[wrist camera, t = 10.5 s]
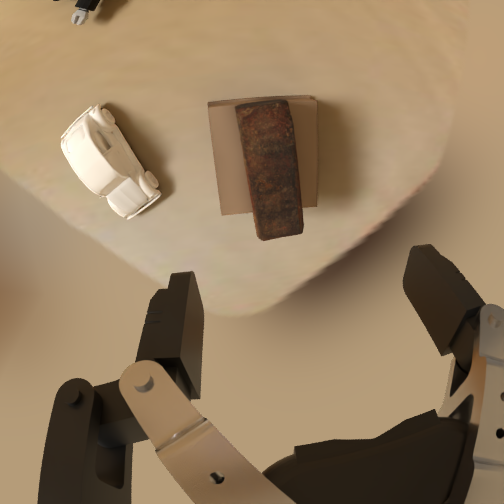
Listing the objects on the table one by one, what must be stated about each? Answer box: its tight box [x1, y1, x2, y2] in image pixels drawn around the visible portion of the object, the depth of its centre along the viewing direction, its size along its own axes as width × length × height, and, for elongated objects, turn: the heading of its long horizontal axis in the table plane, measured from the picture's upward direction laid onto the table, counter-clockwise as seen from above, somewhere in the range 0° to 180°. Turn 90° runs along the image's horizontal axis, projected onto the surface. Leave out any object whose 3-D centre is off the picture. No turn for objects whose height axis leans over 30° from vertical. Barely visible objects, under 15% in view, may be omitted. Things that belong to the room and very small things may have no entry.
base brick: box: [208, 95, 318, 215], centre depth 26 cm, size 9×10×4 cm
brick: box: [235, 99, 304, 241], centre depth 23 cm, size 11×4×5 cm, turn 9°
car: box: [61, 104, 162, 220], centre depth 25 cm, size 12×6×5 cm, turn 31°
